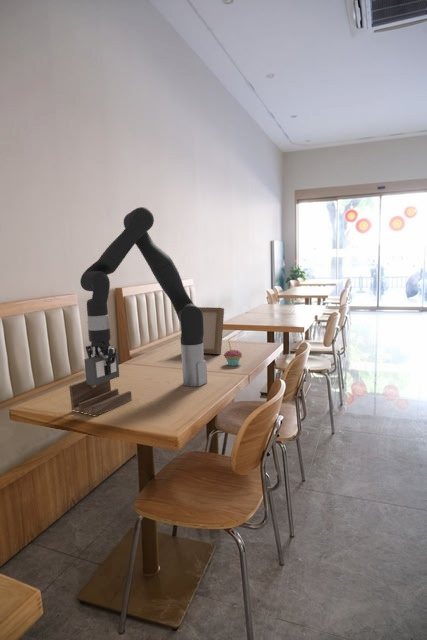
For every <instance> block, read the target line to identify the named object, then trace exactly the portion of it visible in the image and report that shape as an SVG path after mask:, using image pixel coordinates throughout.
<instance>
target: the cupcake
mask: <svg viewBox="0 0 427 640" xmlns="http://www.w3.org/2000/svg"><path fill="white" fill-rule="evenodd" d="M228 346H229V350H227V351H226V352H225V353H224V354H223V357H224V359H226V362H227V364H228V366H232V367H234V366H235V367H236V366H239V364H240V359H241V358H242V357H243V354H242V353H243V352H241V351H240V350H236V349H232V346H231V342H230V340H228Z"/></svg>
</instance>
